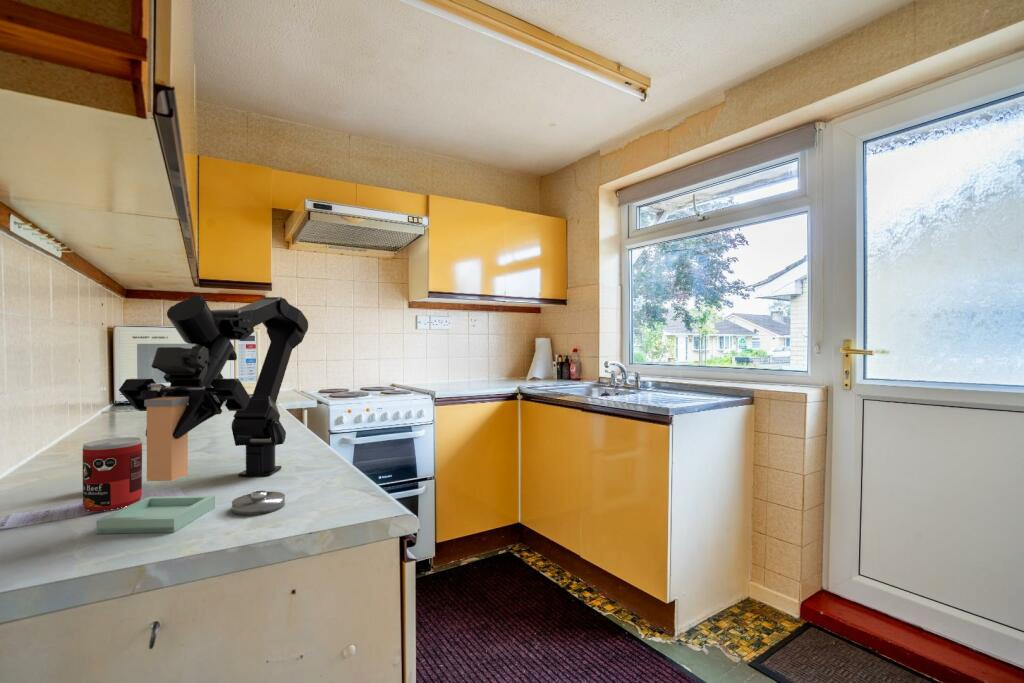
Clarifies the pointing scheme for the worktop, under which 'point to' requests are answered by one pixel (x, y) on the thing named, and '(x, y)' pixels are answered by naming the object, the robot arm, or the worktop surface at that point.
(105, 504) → the canned food
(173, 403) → the grey-capped orange pillar
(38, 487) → the worktop surface
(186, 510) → the tray
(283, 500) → the metal lid
